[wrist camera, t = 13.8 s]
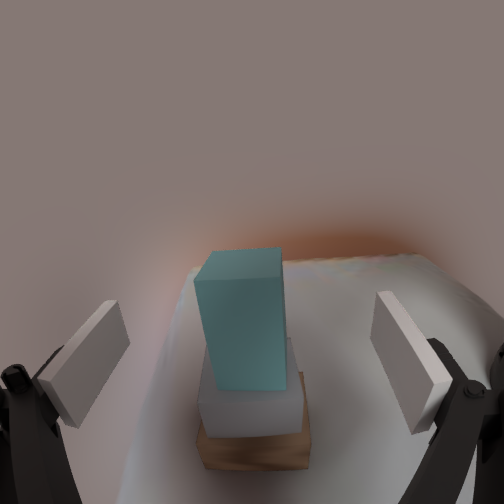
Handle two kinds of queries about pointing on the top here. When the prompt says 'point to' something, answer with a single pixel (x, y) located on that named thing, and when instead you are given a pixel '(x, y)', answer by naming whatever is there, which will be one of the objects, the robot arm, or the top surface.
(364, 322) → the top surface
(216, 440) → the tower base
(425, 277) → the top surface
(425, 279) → the top surface
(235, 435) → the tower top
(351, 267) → the top surface
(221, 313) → the column block
